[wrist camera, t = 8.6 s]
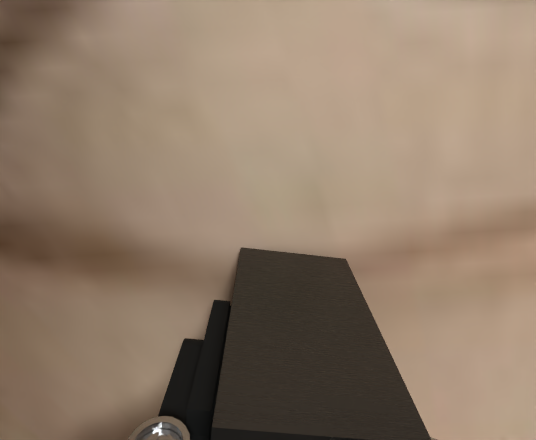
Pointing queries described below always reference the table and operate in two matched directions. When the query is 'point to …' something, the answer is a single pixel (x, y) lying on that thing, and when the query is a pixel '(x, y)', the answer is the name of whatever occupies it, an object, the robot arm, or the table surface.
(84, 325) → the table surface
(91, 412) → the table surface
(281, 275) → the grey angular bent frame
